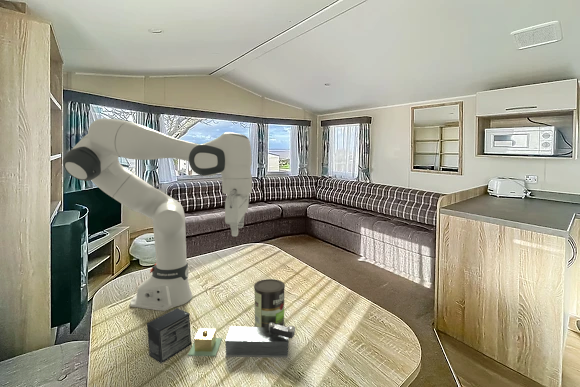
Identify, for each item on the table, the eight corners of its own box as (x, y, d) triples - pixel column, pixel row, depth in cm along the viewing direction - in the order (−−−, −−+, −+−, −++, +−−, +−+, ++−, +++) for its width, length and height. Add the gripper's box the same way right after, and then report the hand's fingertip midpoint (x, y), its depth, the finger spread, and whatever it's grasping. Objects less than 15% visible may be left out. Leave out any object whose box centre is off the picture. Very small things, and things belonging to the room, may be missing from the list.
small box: (179, 337, 100) (177, 306, 98) (192, 344, 96) (191, 313, 94) (147, 355, 91) (145, 322, 89) (161, 364, 87) (159, 329, 86)
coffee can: (290, 321, 109) (290, 283, 107) (273, 336, 100) (273, 295, 98) (266, 312, 114) (266, 276, 112) (248, 326, 106) (247, 287, 104)
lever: (293, 341, 89) (293, 330, 89) (267, 334, 93) (267, 323, 92) (296, 337, 91) (296, 326, 91) (270, 330, 95) (270, 320, 94)
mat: (187, 355, 91) (187, 354, 91) (196, 338, 99) (196, 337, 99) (215, 356, 91) (215, 355, 91) (221, 339, 99) (221, 338, 99)
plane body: (225, 356, 91) (225, 341, 90) (230, 341, 98) (230, 326, 97) (288, 358, 90) (288, 342, 90) (288, 342, 98) (288, 327, 97)
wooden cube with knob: (211, 351, 92) (211, 337, 92) (194, 351, 92) (194, 336, 92) (215, 341, 97) (215, 327, 96) (199, 340, 97) (199, 327, 96)
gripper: (241, 192, 84) (242, 241, 86) (252, 183, 105) (252, 223, 107) (218, 192, 84) (219, 241, 87) (233, 182, 105) (233, 223, 107)
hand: (237, 231), depth 97 cm, fingers open, 8 cm apart
